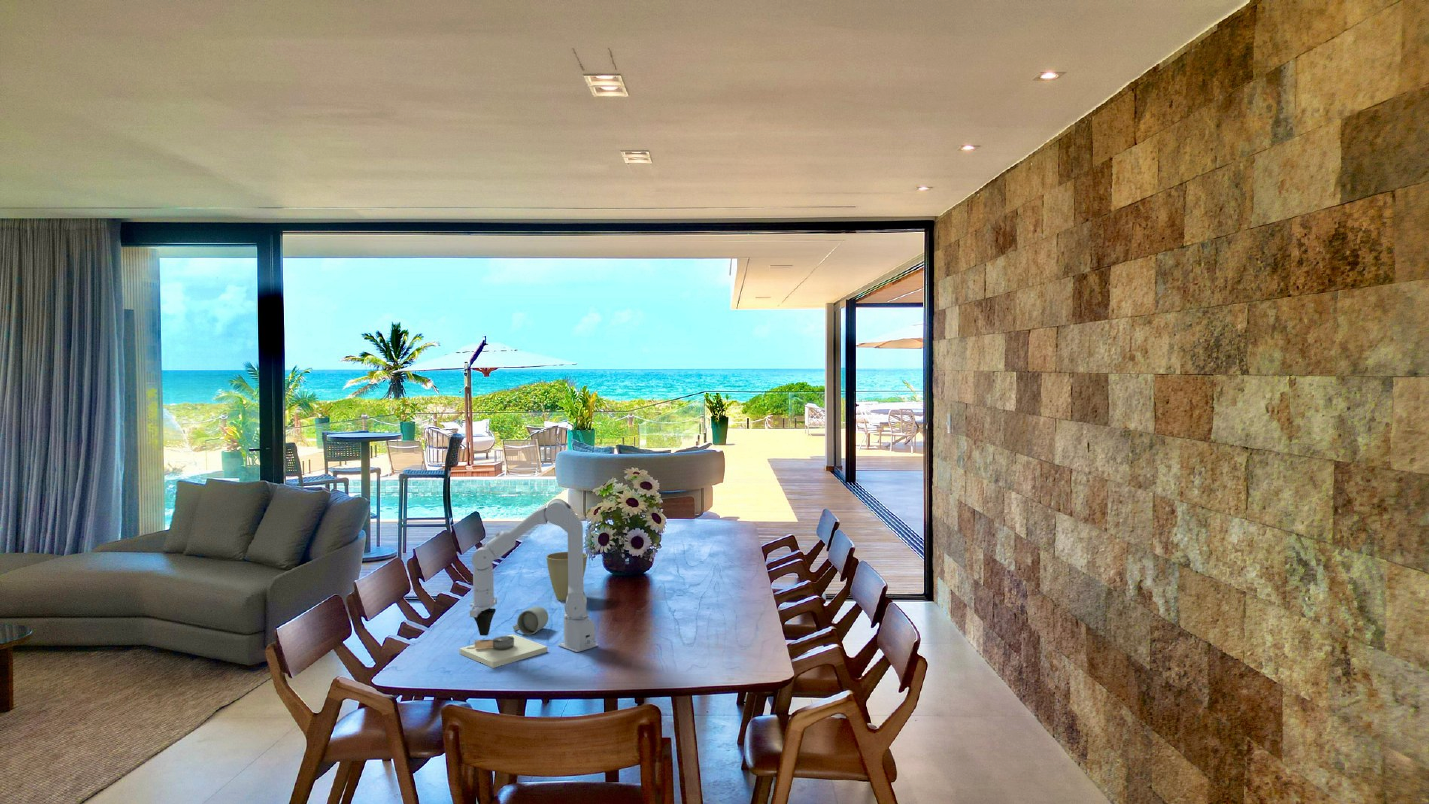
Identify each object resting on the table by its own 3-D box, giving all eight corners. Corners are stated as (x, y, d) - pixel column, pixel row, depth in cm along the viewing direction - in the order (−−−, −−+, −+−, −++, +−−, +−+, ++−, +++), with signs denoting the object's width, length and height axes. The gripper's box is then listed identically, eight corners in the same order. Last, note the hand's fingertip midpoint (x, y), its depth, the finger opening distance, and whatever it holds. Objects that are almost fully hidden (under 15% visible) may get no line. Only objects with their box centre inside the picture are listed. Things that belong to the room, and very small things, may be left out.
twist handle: (515, 642, 230) (514, 635, 230) (513, 648, 224) (512, 641, 224) (476, 644, 228) (476, 637, 228) (473, 651, 222) (473, 644, 222)
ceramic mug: (550, 628, 250) (549, 604, 250) (539, 635, 242) (538, 611, 242) (520, 626, 252) (519, 603, 252) (508, 634, 244) (507, 610, 244)
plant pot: (583, 603, 279) (583, 559, 278) (542, 603, 279) (541, 559, 279) (591, 593, 294) (590, 551, 293) (551, 593, 294) (551, 551, 294)
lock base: (547, 651, 227) (547, 646, 227) (493, 668, 214) (492, 662, 214) (512, 638, 239) (512, 633, 239) (459, 653, 226) (459, 648, 226)
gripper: (481, 582, 236) (481, 627, 236) (459, 594, 222) (460, 642, 222) (503, 582, 235) (503, 627, 235) (482, 595, 221) (483, 643, 221)
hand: (484, 634), depth 228 cm, fingers closed
